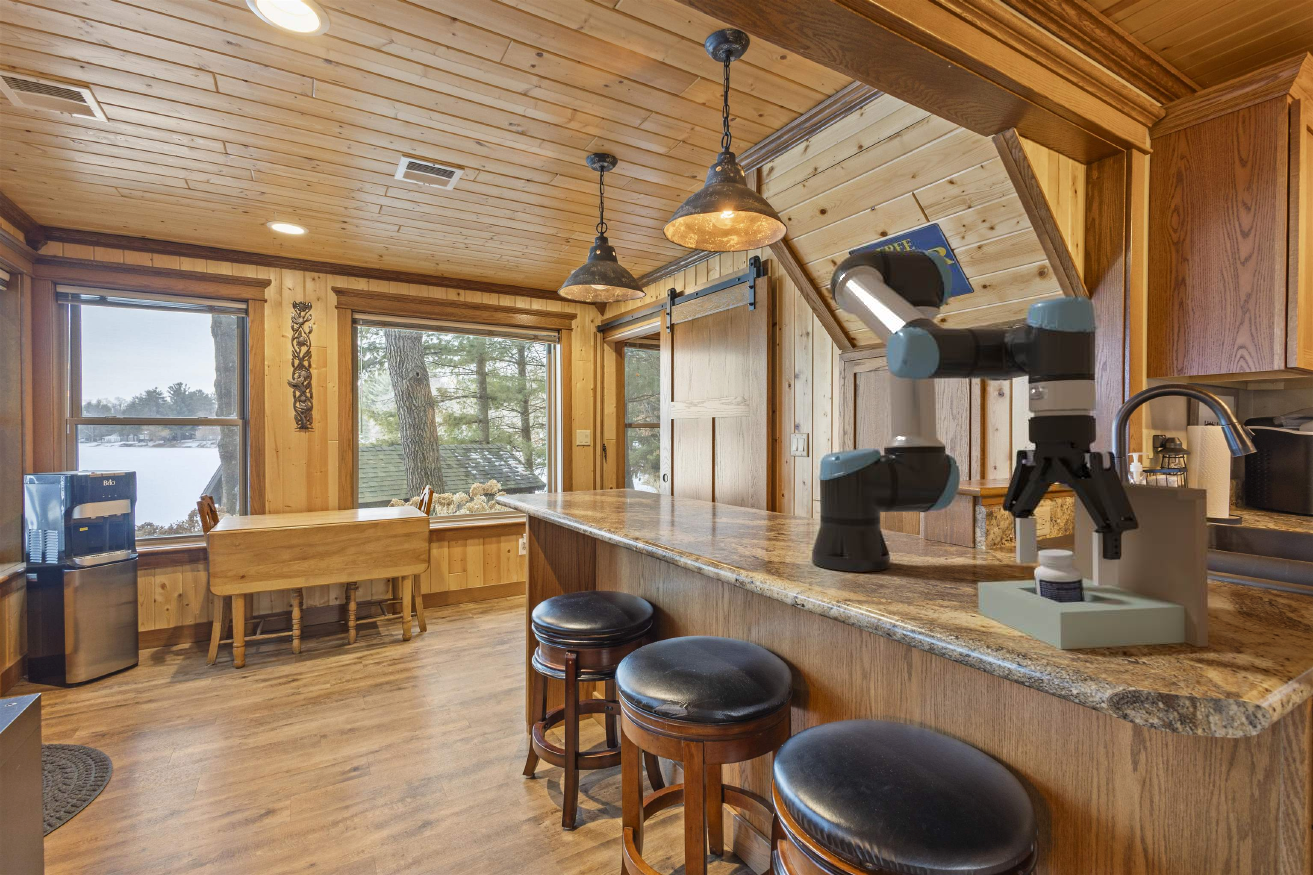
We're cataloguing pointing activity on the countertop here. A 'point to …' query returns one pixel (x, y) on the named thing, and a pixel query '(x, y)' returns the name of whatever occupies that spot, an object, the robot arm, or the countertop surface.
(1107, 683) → the countertop surface
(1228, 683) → the countertop surface
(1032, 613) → the socket stand
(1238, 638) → the countertop surface
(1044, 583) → the pill bottle
